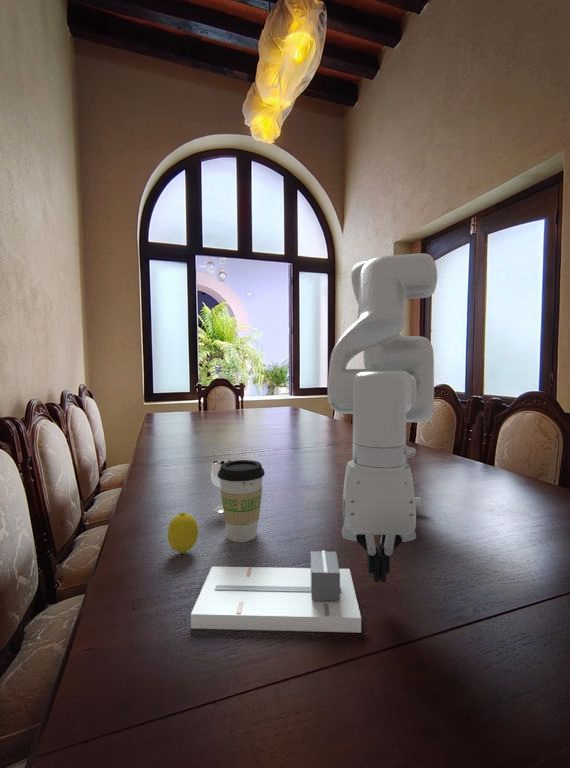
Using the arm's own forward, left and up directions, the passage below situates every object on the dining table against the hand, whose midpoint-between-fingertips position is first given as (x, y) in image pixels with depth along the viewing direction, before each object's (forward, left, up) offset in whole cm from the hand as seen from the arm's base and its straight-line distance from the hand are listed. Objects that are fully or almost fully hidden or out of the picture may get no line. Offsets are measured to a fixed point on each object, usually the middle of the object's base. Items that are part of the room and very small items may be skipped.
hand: (378, 577), depth 55 cm
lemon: (+34, -14, -4) cm, 37 cm away
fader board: (+15, 0, -4) cm, 16 cm away
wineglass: (+31, -36, -4) cm, 48 cm away
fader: (+8, 0, -2) cm, 8 cm away
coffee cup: (+24, -22, -4) cm, 33 cm away
